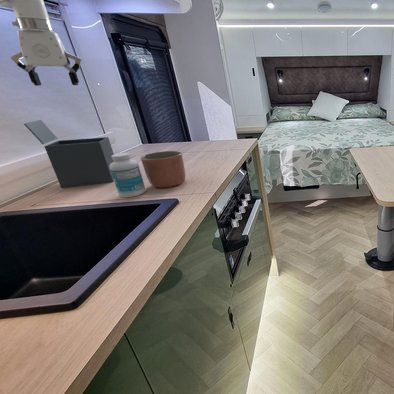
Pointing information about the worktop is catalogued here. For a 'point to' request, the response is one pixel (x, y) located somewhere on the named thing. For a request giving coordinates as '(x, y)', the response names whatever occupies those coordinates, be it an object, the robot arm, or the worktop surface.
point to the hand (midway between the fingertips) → (57, 85)
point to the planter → (164, 168)
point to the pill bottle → (126, 175)
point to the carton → (81, 161)
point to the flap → (41, 131)
